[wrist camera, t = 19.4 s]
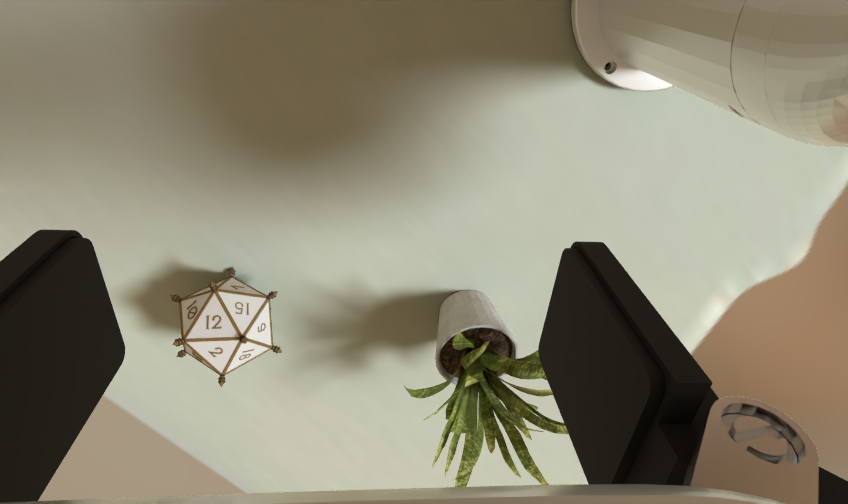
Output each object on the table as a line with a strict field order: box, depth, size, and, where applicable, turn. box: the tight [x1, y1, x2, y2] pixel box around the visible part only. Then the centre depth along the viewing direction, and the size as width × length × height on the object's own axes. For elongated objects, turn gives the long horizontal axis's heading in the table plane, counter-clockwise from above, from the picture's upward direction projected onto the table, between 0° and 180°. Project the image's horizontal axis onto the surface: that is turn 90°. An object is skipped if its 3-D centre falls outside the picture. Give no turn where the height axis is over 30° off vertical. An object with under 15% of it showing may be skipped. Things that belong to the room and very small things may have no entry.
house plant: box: [404, 290, 569, 487], centre depth 41 cm, size 14×14×16 cm
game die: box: [170, 267, 282, 387], centre depth 41 cm, size 9×8×10 cm
